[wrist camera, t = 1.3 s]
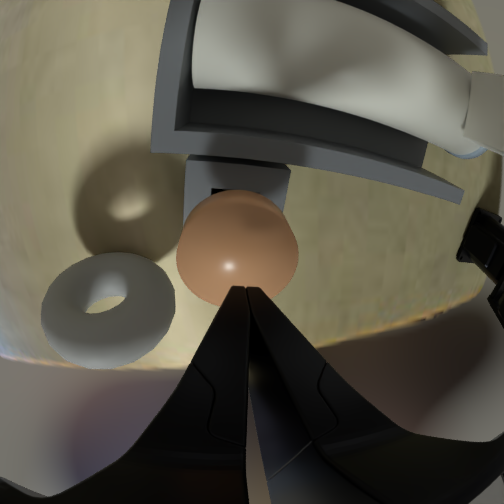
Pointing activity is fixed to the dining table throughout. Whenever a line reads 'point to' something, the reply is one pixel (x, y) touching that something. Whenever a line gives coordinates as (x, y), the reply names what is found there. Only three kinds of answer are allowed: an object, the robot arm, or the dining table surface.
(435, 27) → the housing
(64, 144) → the dining table surface
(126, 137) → the dining table surface
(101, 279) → the donut
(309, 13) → the cartridge
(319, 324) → the dining table surface
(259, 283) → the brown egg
